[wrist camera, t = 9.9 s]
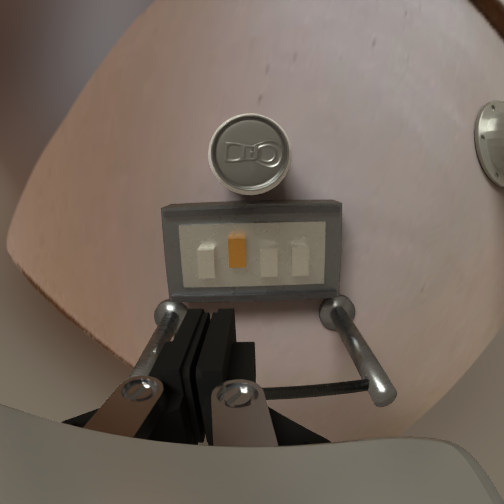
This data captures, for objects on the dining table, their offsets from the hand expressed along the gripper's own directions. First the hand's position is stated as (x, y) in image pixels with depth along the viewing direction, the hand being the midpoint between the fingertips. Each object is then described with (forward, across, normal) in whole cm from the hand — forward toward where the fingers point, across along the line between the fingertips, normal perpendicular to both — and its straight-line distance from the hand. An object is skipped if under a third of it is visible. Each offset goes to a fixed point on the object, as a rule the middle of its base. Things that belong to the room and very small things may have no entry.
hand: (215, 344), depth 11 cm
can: (+25, -1, -7) cm, 26 cm away
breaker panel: (+25, -1, +2) cm, 25 cm away
